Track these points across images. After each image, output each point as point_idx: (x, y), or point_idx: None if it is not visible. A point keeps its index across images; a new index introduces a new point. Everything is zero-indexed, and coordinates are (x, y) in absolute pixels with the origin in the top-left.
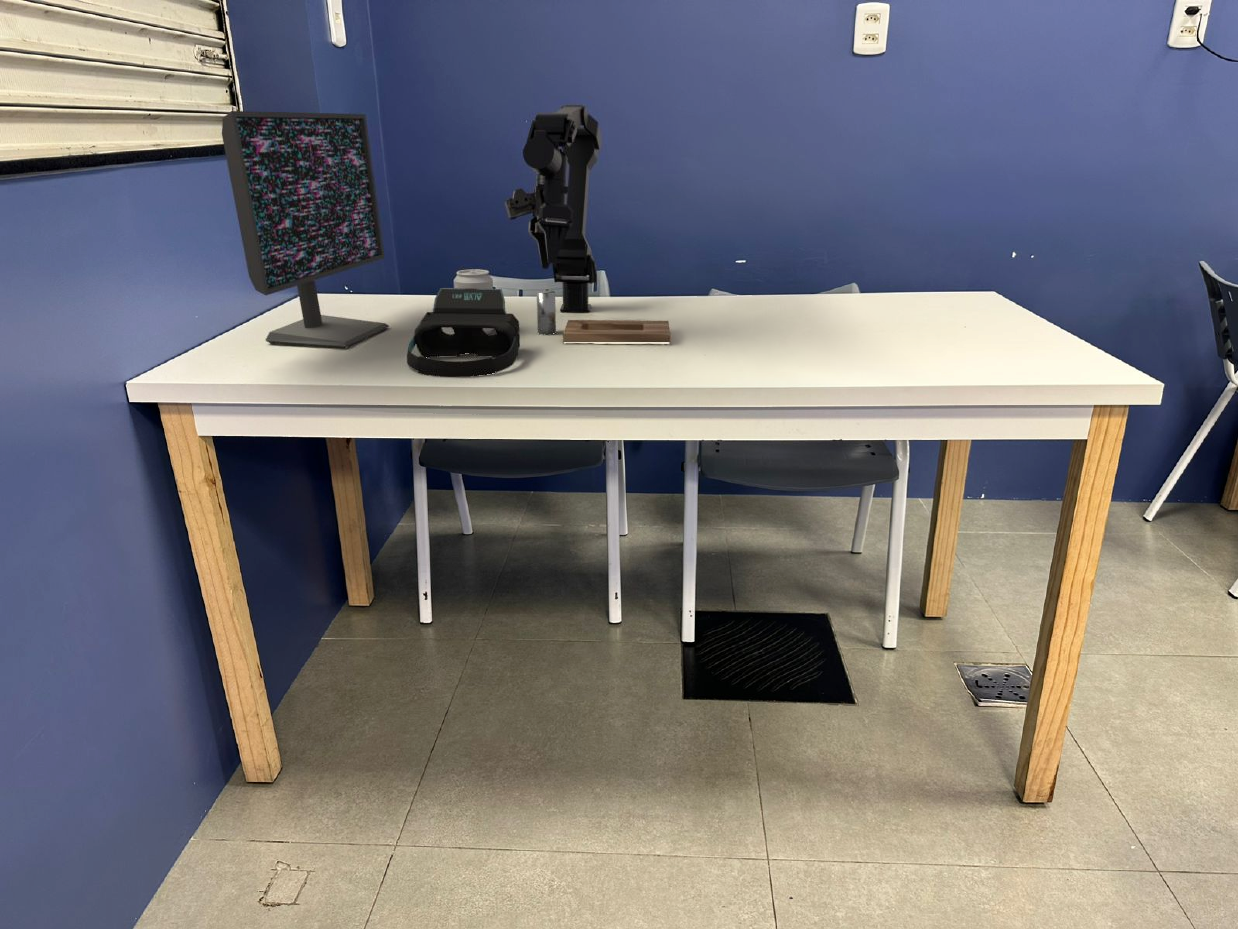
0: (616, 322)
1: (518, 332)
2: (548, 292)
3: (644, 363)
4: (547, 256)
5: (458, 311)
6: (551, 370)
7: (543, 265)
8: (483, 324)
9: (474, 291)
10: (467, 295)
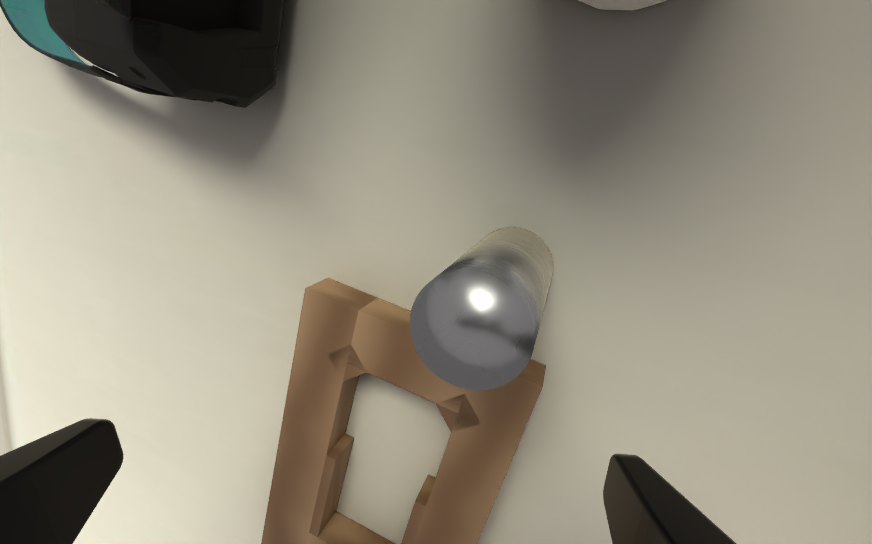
0: (437, 524)
1: (128, 86)
2: (457, 345)
3: (135, 403)
4: (27, 453)
5: None
6: (78, 171)
7: (618, 485)
8: None
9: None
10: None
